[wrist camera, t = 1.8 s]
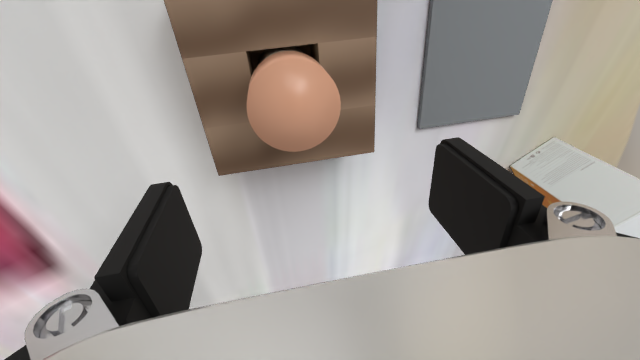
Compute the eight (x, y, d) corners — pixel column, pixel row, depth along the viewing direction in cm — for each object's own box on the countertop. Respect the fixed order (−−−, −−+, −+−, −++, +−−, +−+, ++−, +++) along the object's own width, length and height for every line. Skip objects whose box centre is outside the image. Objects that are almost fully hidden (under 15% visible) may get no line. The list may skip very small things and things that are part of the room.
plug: (245, 39, 25) (236, 65, 16) (310, 32, 26) (338, 53, 16) (258, 104, 28) (256, 157, 19) (316, 96, 29) (342, 145, 19)
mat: (435, -53, 25) (439, -54, 24) (565, -64, 26) (571, -65, 25) (417, 126, 33) (419, 129, 33) (515, 112, 35) (519, 114, 34)
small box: (507, 165, 39) (604, 232, 28) (554, 135, 37) (674, 193, 26) (523, 201, 43) (613, 272, 32) (566, 175, 41) (674, 240, 30)
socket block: (180, -15, 23) (158, -17, 18) (354, -31, 25) (378, -37, 20) (225, 146, 31) (218, 175, 26) (356, 127, 32) (374, 151, 27)
